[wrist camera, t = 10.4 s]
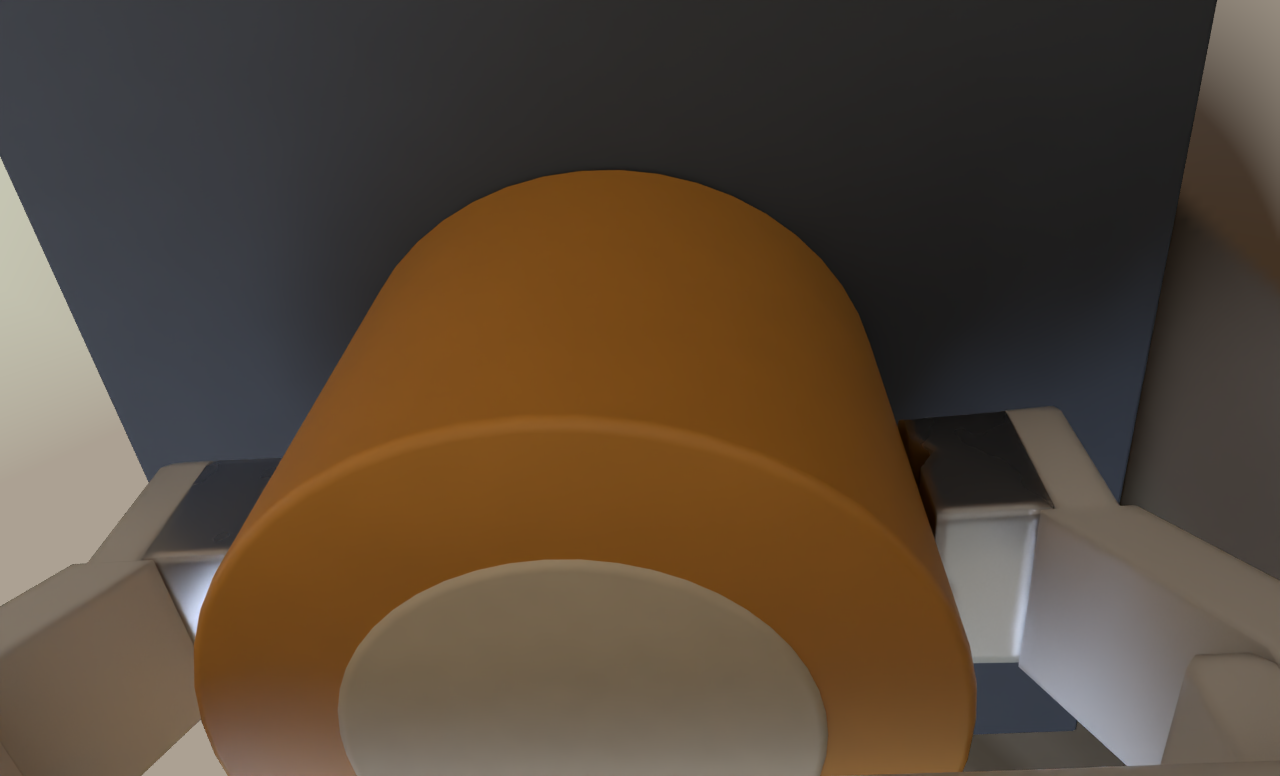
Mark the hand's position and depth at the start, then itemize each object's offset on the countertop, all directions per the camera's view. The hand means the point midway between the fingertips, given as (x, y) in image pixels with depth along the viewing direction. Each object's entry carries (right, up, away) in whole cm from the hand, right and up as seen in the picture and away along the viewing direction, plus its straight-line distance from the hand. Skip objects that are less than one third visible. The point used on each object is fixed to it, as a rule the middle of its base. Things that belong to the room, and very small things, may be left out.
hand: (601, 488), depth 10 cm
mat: (0, +1, +2) cm, 2 cm away
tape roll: (0, +1, +1) cm, 1 cm away
